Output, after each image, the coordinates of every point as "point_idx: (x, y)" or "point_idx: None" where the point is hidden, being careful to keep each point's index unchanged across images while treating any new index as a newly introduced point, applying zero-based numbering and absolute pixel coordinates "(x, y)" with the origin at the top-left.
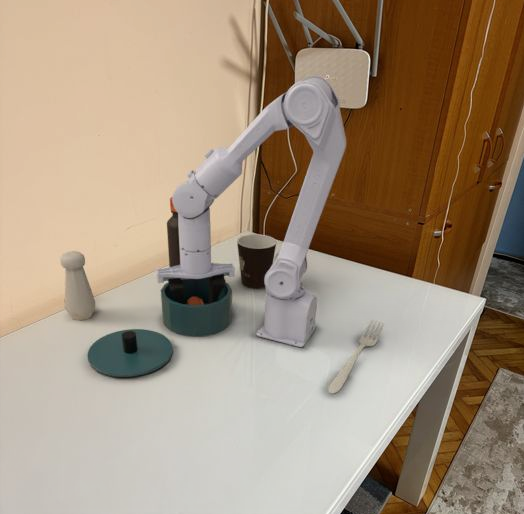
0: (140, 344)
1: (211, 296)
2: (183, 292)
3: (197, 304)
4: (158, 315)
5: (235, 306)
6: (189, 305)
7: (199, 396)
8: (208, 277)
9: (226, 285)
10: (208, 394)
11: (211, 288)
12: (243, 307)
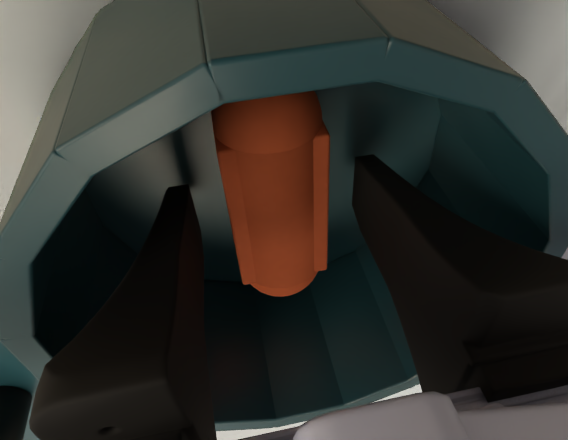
0: (29, 375)
1: (392, 266)
2: (212, 411)
3: (287, 234)
4: (4, 115)
5: (529, 25)
6: (243, 426)
7: (241, 436)
8: (461, 279)
9: (546, 251)
10: (261, 431)
11: (417, 320)
12: (564, 43)
